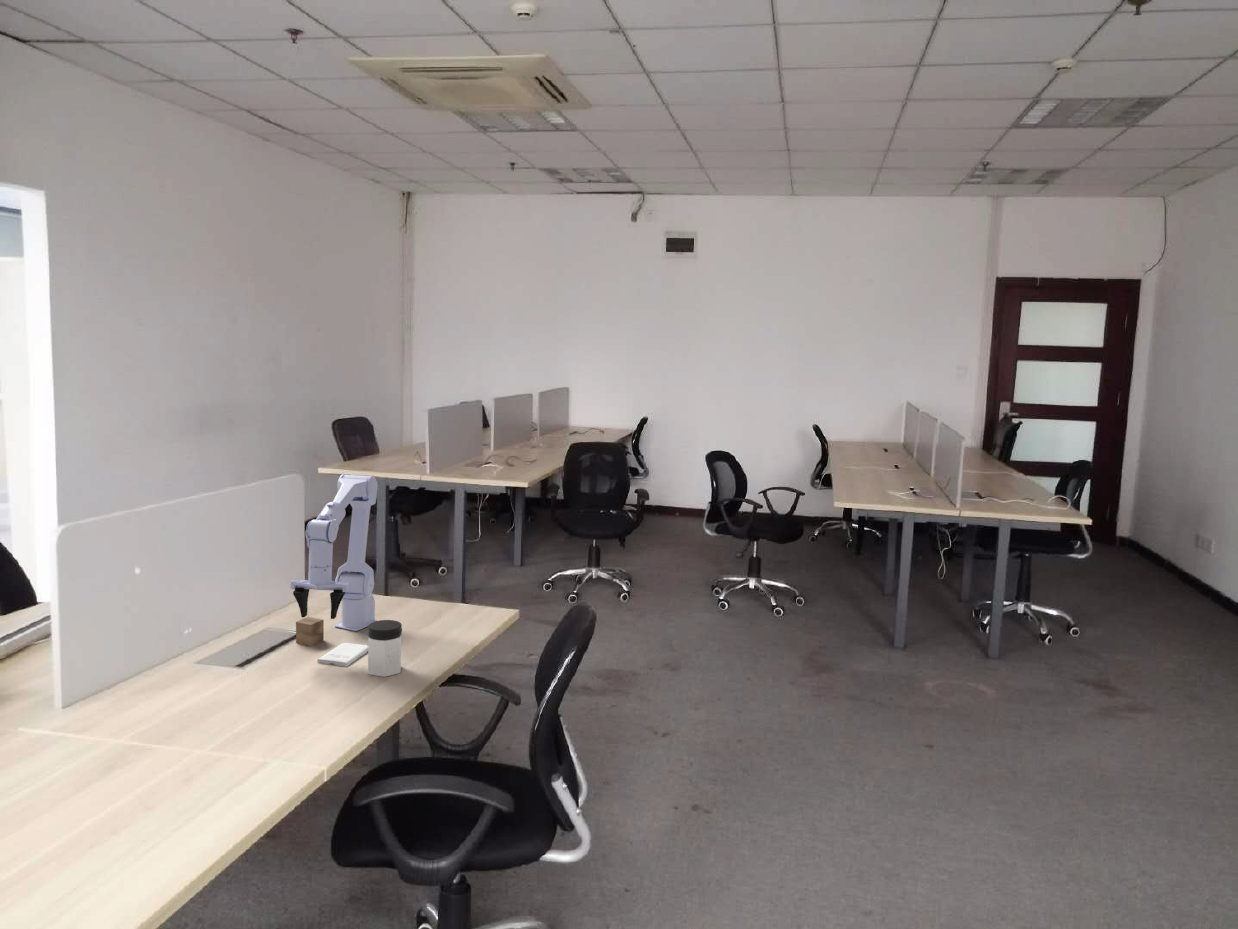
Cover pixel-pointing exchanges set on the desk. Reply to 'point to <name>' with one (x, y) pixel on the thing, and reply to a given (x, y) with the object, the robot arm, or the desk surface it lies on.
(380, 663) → the jar
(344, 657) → the external hard drive
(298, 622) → the walnut block
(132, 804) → the desk surface
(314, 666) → the desk surface
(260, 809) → the desk surface
